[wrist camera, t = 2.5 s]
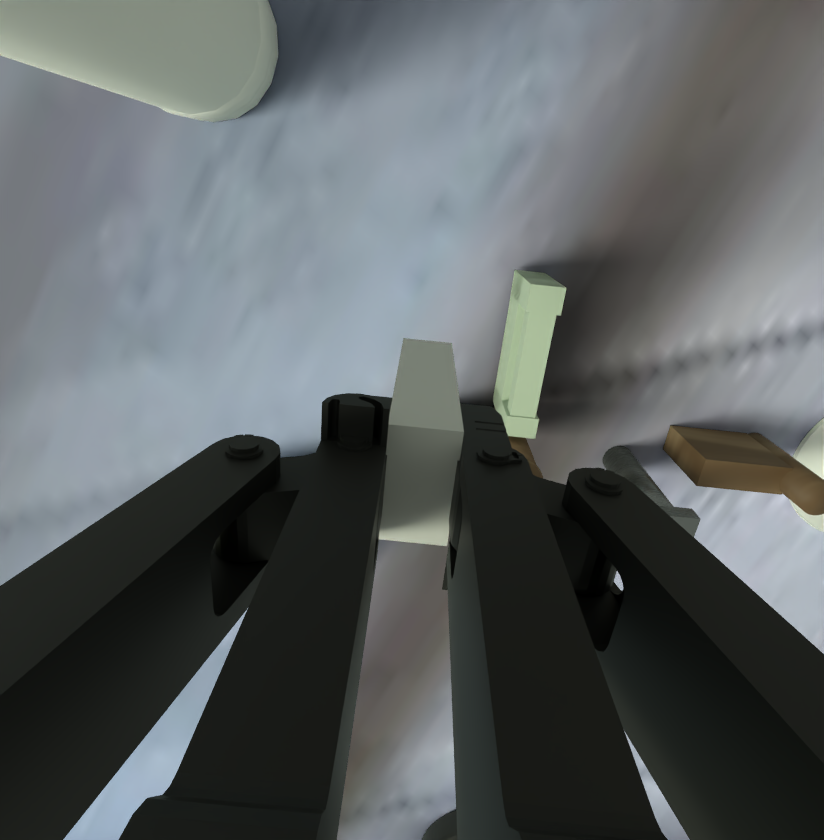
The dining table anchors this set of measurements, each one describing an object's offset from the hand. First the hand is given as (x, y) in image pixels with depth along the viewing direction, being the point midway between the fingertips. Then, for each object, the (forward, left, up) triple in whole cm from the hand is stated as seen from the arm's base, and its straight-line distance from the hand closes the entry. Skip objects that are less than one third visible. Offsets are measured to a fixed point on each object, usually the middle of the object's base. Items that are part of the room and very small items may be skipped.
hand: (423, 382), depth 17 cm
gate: (-2, -6, -17) cm, 18 cm away
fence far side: (-8, -20, -17) cm, 28 cm away
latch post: (-10, -14, -17) cm, 25 cm away
